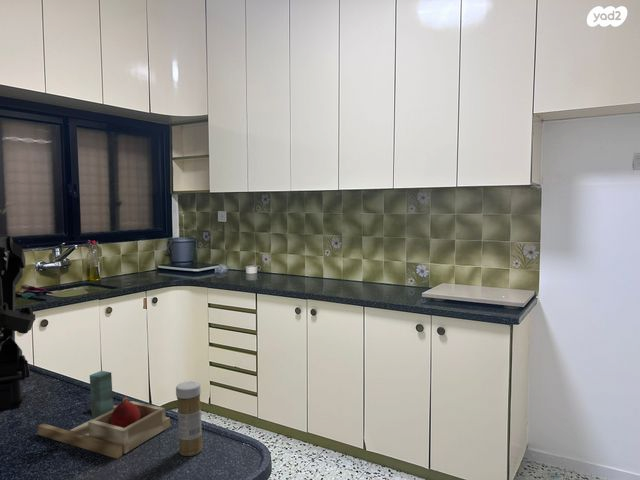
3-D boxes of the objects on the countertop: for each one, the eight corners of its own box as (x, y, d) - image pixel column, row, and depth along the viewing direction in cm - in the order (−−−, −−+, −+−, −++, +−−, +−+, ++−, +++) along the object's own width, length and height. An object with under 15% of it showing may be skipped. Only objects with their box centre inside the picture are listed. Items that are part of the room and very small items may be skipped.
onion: (133, 442, 96) (131, 404, 95) (106, 442, 96) (104, 404, 95) (145, 428, 101) (144, 393, 101) (119, 428, 102) (118, 392, 101)
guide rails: (38, 434, 100) (37, 425, 99) (95, 408, 112) (94, 400, 112) (117, 458, 90) (116, 448, 89) (170, 426, 102) (169, 417, 102)
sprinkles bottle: (200, 443, 95) (197, 378, 94) (205, 453, 91) (202, 386, 90) (177, 448, 93) (174, 382, 92) (180, 459, 89) (177, 390, 88)
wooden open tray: (67, 436, 98) (64, 380, 97) (111, 415, 108) (108, 363, 107) (125, 453, 91) (121, 392, 90) (166, 428, 101) (163, 373, 100)
